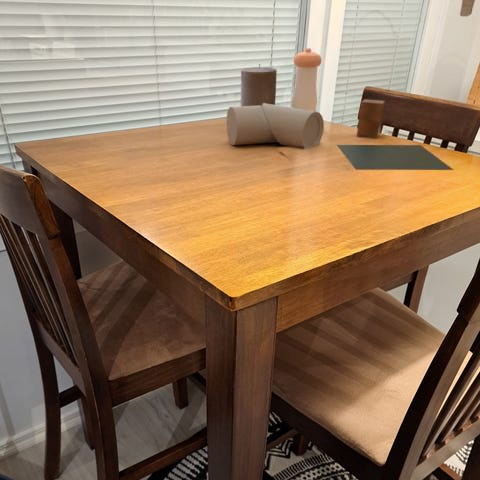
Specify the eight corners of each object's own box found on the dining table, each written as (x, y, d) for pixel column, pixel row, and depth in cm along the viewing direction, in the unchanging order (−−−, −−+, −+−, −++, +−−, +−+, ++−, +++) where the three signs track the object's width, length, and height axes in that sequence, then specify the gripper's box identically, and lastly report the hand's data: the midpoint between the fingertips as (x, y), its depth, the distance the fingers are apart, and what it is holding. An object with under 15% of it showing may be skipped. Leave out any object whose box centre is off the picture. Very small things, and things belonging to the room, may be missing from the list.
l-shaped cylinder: (298, 128, 128) (224, 133, 123) (305, 86, 121) (226, 89, 116) (326, 161, 117) (245, 168, 112) (335, 117, 109) (249, 121, 104)
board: (419, 149, 117) (420, 145, 117) (452, 174, 100) (454, 169, 100) (336, 149, 117) (336, 144, 116) (355, 174, 100) (355, 169, 99)
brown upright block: (379, 139, 125) (385, 100, 120) (376, 142, 122) (382, 103, 117) (359, 137, 127) (364, 99, 122) (356, 140, 124) (361, 101, 119)
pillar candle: (280, 122, 141) (283, 63, 133) (263, 128, 134) (265, 66, 126) (251, 118, 145) (252, 61, 137) (233, 124, 138) (233, 64, 130)
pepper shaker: (304, 124, 139) (310, 46, 129) (321, 129, 134) (329, 48, 123) (283, 127, 136) (288, 47, 125) (300, 132, 131) (306, 50, 120)
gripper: (503, -78, 84) (481, 17, 92) (501, -66, 100) (482, 15, 108) (464, -77, 86) (445, 16, 94) (468, -65, 102) (452, 14, 110)
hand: (465, 15), depth 101 cm, fingers open, 8 cm apart
